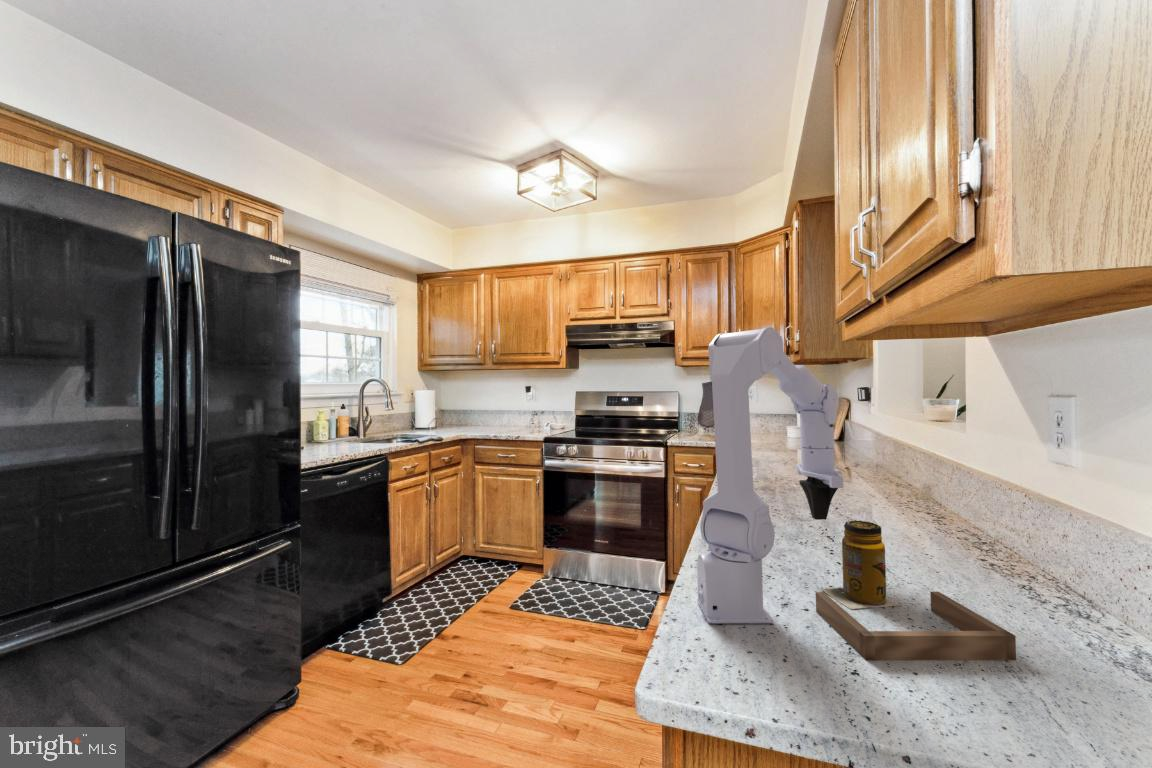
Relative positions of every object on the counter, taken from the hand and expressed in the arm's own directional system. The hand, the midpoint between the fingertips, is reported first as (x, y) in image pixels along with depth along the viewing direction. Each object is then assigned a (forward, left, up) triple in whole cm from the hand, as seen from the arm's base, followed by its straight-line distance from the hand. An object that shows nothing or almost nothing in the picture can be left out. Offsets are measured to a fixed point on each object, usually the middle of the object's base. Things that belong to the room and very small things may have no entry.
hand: (819, 518), depth 91 cm
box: (0, -25, -9) cm, 26 cm away
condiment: (0, -13, -10) cm, 16 cm away
